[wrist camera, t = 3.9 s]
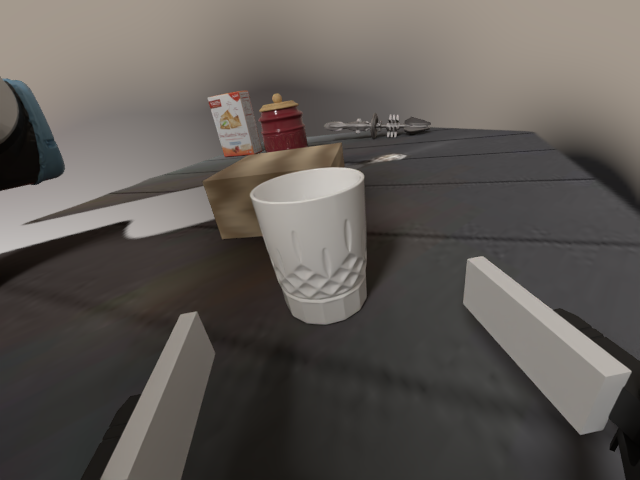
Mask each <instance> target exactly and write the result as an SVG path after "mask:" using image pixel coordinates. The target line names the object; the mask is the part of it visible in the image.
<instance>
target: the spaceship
mask: <svg viewBox="0 0 640 480" xmlns="http://www.w3.org/2000/svg"><path fill="white" fill-rule="evenodd" d="M391 118H392V115H390V117H389V122H388V123H387V124H382V121H381V120H380V121H379V123H378V116H377V114H376V113H374V114H373V117H372V120H371V123H369V122H367V121H361V119H357V121H355V122H350V123H347V124H344V123H342V122H329V123H326V124H325V125H324V128H325V129H327V130H330V131H340V130H342V129H349V130H353V131H356V134H359V133H360V131H367V130H369V129H371V136H372V138H373V139H375V137H376V135H377V131H378V132H380V131H381V128H386V129H387V131H388V132H387V137H389V134H390V131H391V137H393V132H394V131H395V134H394V137H396V135H397V130H399V128H404V131H405V132H407V133H408V134H410V135H411V134H415V133H419V132H423V131H425V130H429V129H430V127H428V125H431V123H430V122H427V121H425V120H421V119H417V118H414V117H411V118H409V119H407V120H405V124H400V123H399V115H397V118H396V119H395V115H393V120H392V121H391ZM395 120H396V121H395Z"/></svg>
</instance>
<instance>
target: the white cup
mask: <svg viewBox="0 0 640 480" xmlns="http://www.w3.org/2000/svg"><path fill="white" fill-rule="evenodd" d="M250 197H251V201H252V204H253V207H254V210H255V213H256V216H257V219H258V222H259V225H260V229H261V232H262V235H263V238H264V241H265V245H266V248H267V251H268V254H269V256H270V259H271V262H272V265H273V268H274V271H275V273H276V277H277V280H278V282H279V285H280V286H281V288H282V291H283V294H284V298H285V301H286V304H287V306H288V308H289V310H290V312H291V313H292V315H293V316H294V317H296V318H298V319H300V320H302V321H303V322H305V323H309V324H322V325H327V324H331V323H335V322H339V321H343V320H346V319H347V318H349V317H350V316H352V315H353V314H355V313H356V312H358V311H359V310H360V309H361V307H362V305H363V303H364V302H365V300H366V298H367V289H366V265H367V246H366V239H367V233H366V209H365V184H364V174H363V173H362V172H360V171H358V170H355V169H351V168H340V167H331V168H317V169H309V170H303V171H298V172H293V173H289V174H285V175H282V176H279V177H276V178H273V179H270V180H268V181H265V182H263V183H261V184H260V185H258V186H256V187H255V188H254V189H253V190H252V191H251V193H250Z"/></svg>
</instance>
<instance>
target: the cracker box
mask: <svg viewBox="0 0 640 480" xmlns="http://www.w3.org/2000/svg"><path fill="white" fill-rule="evenodd" d="M208 101H209V105H210V108H211V111H212V115H213V118H214V122H215V125H216V129H217V132H218V135H219V139H220V142H221V146H222V149H223V152H224V156H225V157H228V156H241V155H253V154H257V153H259V152H261V151H262V148H261V144H260V139H259V135H258V131H257V127H256V122H255V118H254V114H253V110H252V106H251V102H250V97H249V93H248V91H238V92H232V93H227V94H222V95H217V96H212V97H208Z"/></svg>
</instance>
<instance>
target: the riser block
mask: <svg viewBox="0 0 640 480" xmlns="http://www.w3.org/2000/svg"><path fill="white" fill-rule="evenodd" d="M331 167H340V168H344V159H343V150H342V143H335V144H327V145H320V146H313V147H305V148H298V149H290V150H283V151H276V152H268V153H261V154H253V155H248V156H247V157H245V158H243V159H241V160H240V161H238V162H236V163H234V164H233V165H231V166H229V167H227V168H225V169H224V170H222V171H220V172H218V173H217V174H215V175H213V176H211V177H210V178H208V179H206V180H204V181H202V182H203V185H204V187H205V190H206V193H207V196H208V199H209V202H210V205H211V208H212V211H213V214H214V217H215V220H216V223H217V226H218V229H219V231H220V234H221V237H222V239H230V238H244V237H257V236H263V235H262V232H261V229H260V225H259V222H258V219H257V216H256V213H255V210H254V207H253V204H252V201H251V197H250V193H251V191H252V190H253V189H254V188H255V187H256V186H258V185H260V184H261V183H263V182H265V181H268V180H270V179H273V178H276V177H279V176H282V175H285V174H289V173H293V172H298V171H303V170H309V169H317V168H331Z"/></svg>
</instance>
